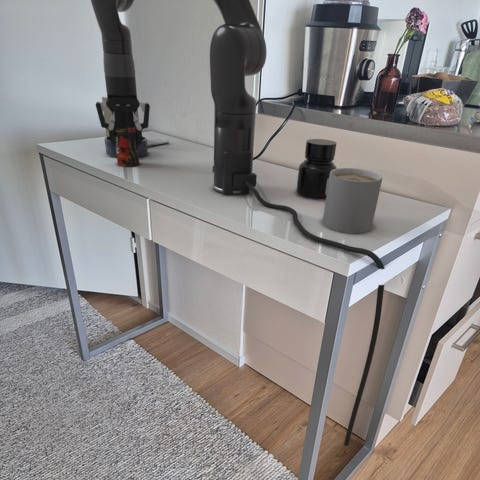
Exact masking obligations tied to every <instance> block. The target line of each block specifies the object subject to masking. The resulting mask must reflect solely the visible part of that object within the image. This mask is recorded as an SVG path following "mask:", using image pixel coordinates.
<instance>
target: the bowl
mask: <svg viewBox="0 0 480 480" xmlns="http://www.w3.org/2000/svg"><path fill="white" fill-rule="evenodd" d="M104 146H105V147H104V148H105V153H106V155H107V156H110V157H112V158H116V159H117V154H116V145H113V143H111V142H110V137H109V136H105V137H104ZM148 148H149V147H148V146H147V138H146V137H144V136H142V143H140V145H138V153H139V158H142V157H144V156H146V155H148V154H149V149H148Z"/></svg>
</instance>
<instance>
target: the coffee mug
mask: <svg viewBox="0 0 480 480" xmlns="http://www.w3.org/2000/svg"><path fill="white" fill-rule="evenodd" d="M382 183H383V175H382V174H380V173H379V172H375V171H373V170H369V169H364V168H356V167H339V168H337V169H333V170H331V172H330V176H329V182H328V189H327V195H326V199H325V203H324V209H323V215H322V222H321V223H322V224H323V226H325V227H326V228H328V229H330V230H333V231H335V232H338V233H339V232H340V233H344V234H345V233H346V234H363V233H367V232H369V231H371V230H372V227H373V224H374V219H375V215H376V210H377V206H378V201H379V196H380V191H381V187H382Z"/></svg>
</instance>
